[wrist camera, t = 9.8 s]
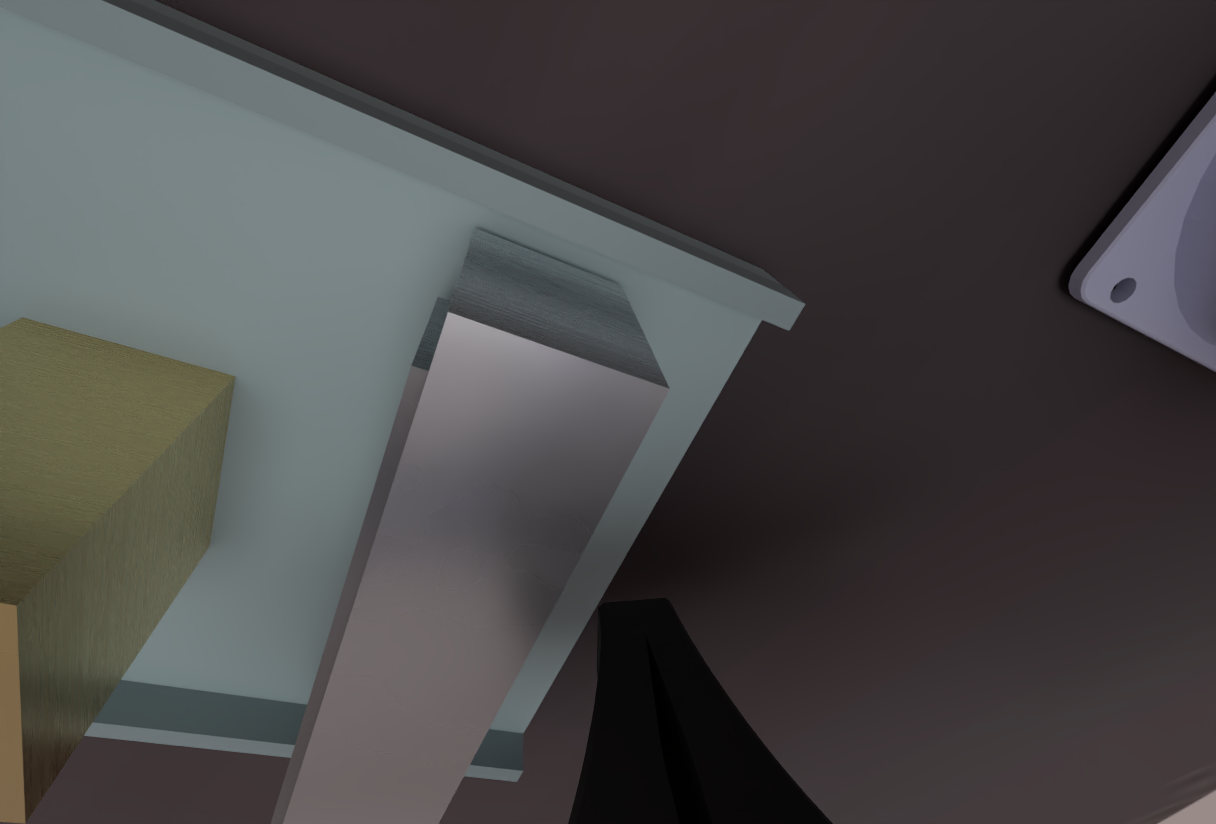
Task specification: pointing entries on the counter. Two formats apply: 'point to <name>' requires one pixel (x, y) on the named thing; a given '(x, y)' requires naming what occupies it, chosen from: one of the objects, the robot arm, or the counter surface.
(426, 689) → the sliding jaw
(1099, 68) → the counter surface
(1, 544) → the block
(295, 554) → the vise base
